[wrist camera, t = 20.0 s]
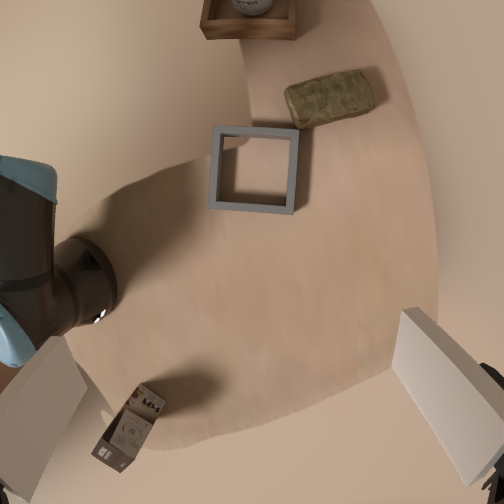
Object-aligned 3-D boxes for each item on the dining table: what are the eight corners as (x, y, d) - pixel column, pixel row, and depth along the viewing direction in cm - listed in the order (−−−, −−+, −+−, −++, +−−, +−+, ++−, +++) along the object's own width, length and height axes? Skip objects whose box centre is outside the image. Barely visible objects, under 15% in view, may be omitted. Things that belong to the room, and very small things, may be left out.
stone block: (281, 97, 36) (281, 86, 31) (355, 78, 34) (364, 65, 29) (296, 135, 37) (299, 127, 32) (371, 113, 35) (382, 105, 30)
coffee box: (139, 381, 49) (100, 437, 33) (167, 401, 49) (135, 460, 33) (124, 403, 51) (89, 454, 35) (149, 421, 51) (119, 474, 35)
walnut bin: (207, 39, 35) (199, 26, 30) (216, -17, 32) (211, -32, 27) (294, 40, 33) (295, 25, 29) (295, -17, 31) (296, -33, 26)
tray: (212, 207, 40) (207, 208, 38) (217, 129, 38) (213, 125, 35) (292, 213, 39) (293, 215, 37) (298, 133, 37) (299, 130, 34)
